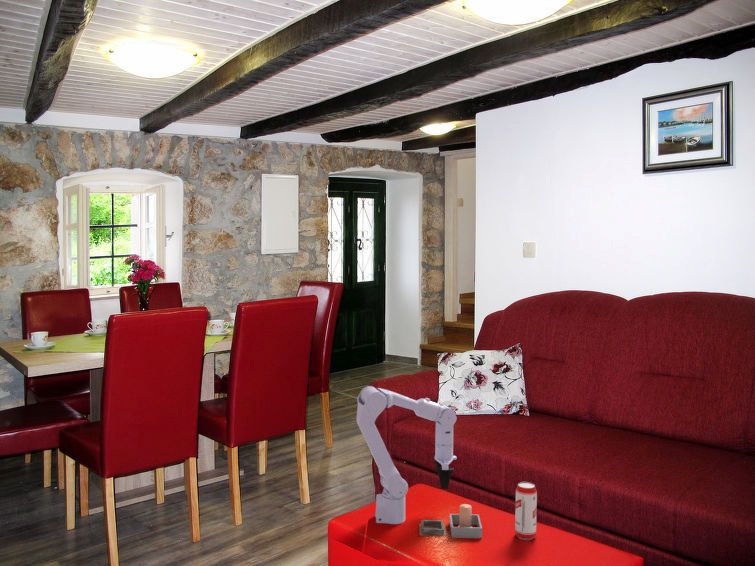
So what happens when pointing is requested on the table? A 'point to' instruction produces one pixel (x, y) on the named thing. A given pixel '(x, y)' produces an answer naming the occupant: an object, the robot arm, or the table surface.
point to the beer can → (525, 511)
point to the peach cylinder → (465, 515)
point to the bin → (465, 531)
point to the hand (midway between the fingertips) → (443, 484)
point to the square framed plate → (432, 528)
